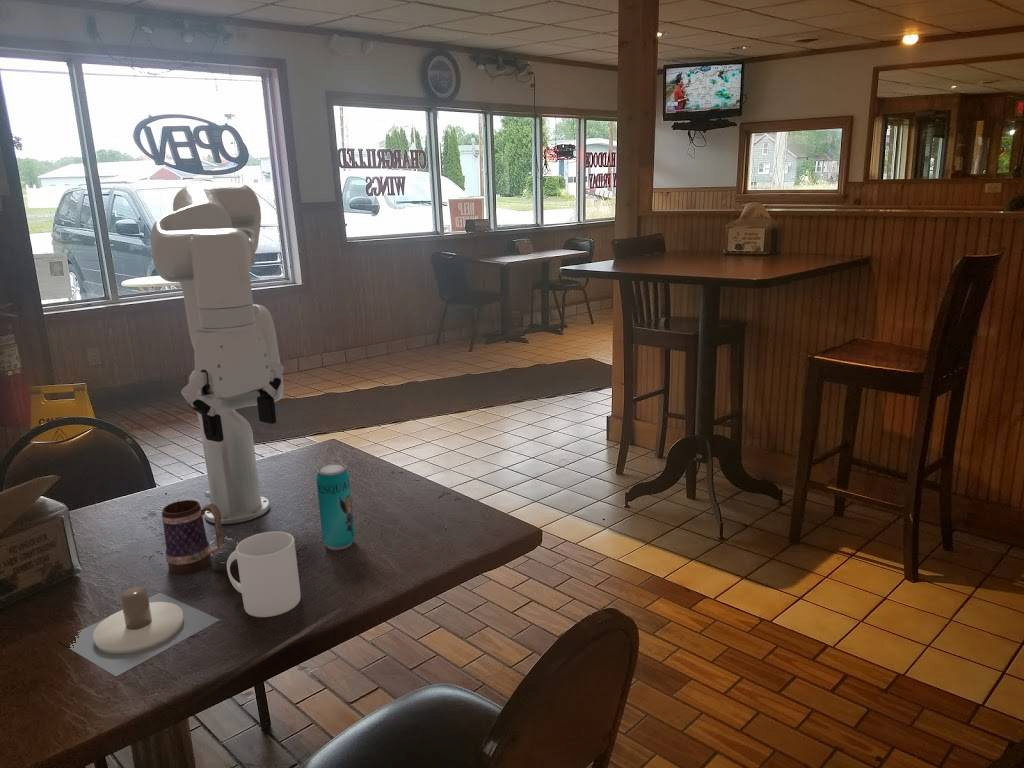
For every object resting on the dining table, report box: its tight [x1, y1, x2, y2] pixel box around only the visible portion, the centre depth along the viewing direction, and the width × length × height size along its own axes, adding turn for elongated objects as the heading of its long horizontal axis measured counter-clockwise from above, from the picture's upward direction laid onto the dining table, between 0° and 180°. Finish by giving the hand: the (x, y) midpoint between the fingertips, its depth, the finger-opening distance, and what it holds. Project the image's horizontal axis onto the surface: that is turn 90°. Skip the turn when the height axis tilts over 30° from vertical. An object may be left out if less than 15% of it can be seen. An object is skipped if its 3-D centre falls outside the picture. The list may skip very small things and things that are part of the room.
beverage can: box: [315, 462, 355, 551], centre depth 135 cm, size 6×6×15 cm
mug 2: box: [226, 531, 302, 618], centre depth 116 cm, size 9×12×11 cm
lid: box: [93, 586, 184, 654], centre depth 110 cm, size 12×12×6 cm
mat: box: [68, 592, 221, 678], centre depth 111 cm, size 16×16×1 cm
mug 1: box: [161, 499, 225, 576], centre depth 129 cm, size 10×7×12 cm
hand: (242, 431), depth 112 cm, fingers open, 9 cm apart
